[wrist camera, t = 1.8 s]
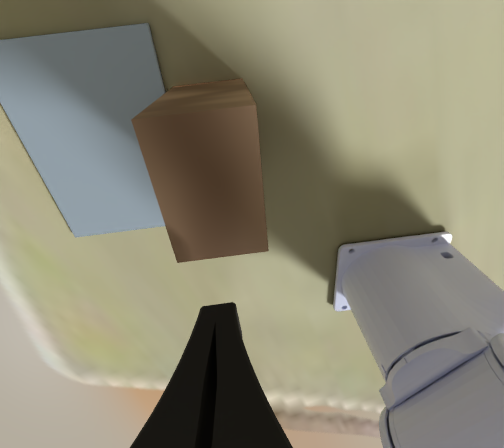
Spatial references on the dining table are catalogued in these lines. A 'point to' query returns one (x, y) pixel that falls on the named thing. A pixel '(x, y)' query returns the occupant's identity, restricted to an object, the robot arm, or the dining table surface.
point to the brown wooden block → (206, 168)
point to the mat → (86, 121)
